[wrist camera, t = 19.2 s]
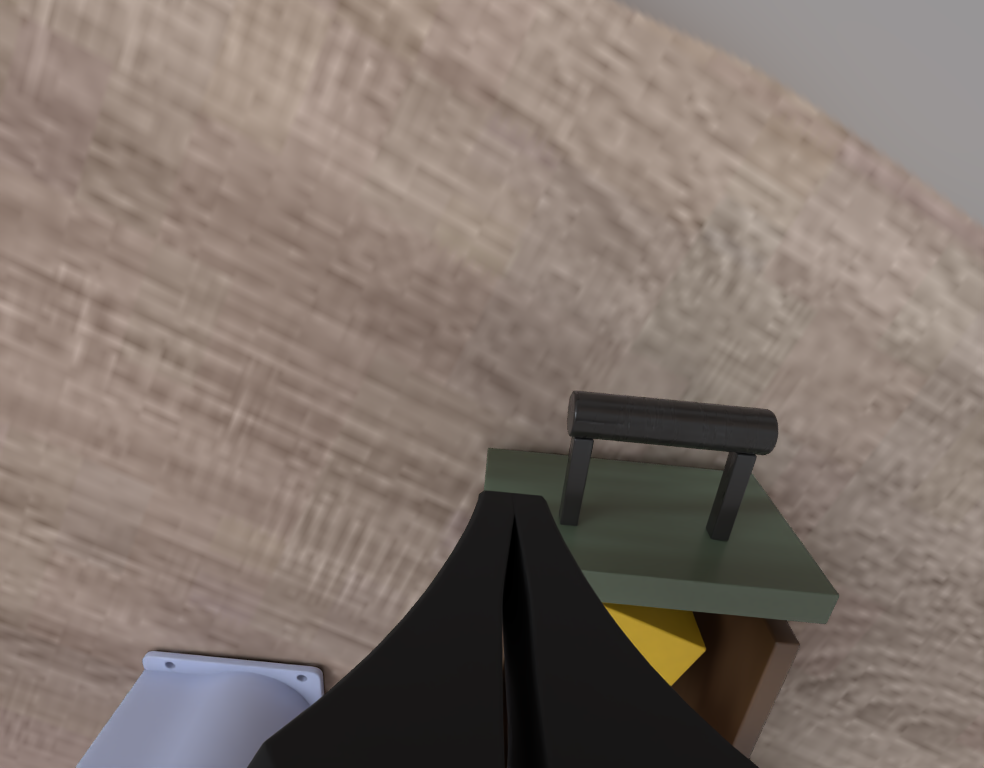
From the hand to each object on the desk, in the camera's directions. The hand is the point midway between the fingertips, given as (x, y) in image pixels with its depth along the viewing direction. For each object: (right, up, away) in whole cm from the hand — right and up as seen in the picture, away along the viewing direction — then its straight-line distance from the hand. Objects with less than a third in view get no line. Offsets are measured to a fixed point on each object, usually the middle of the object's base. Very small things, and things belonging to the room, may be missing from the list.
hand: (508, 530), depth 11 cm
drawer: (+4, -4, +12) cm, 13 cm away
